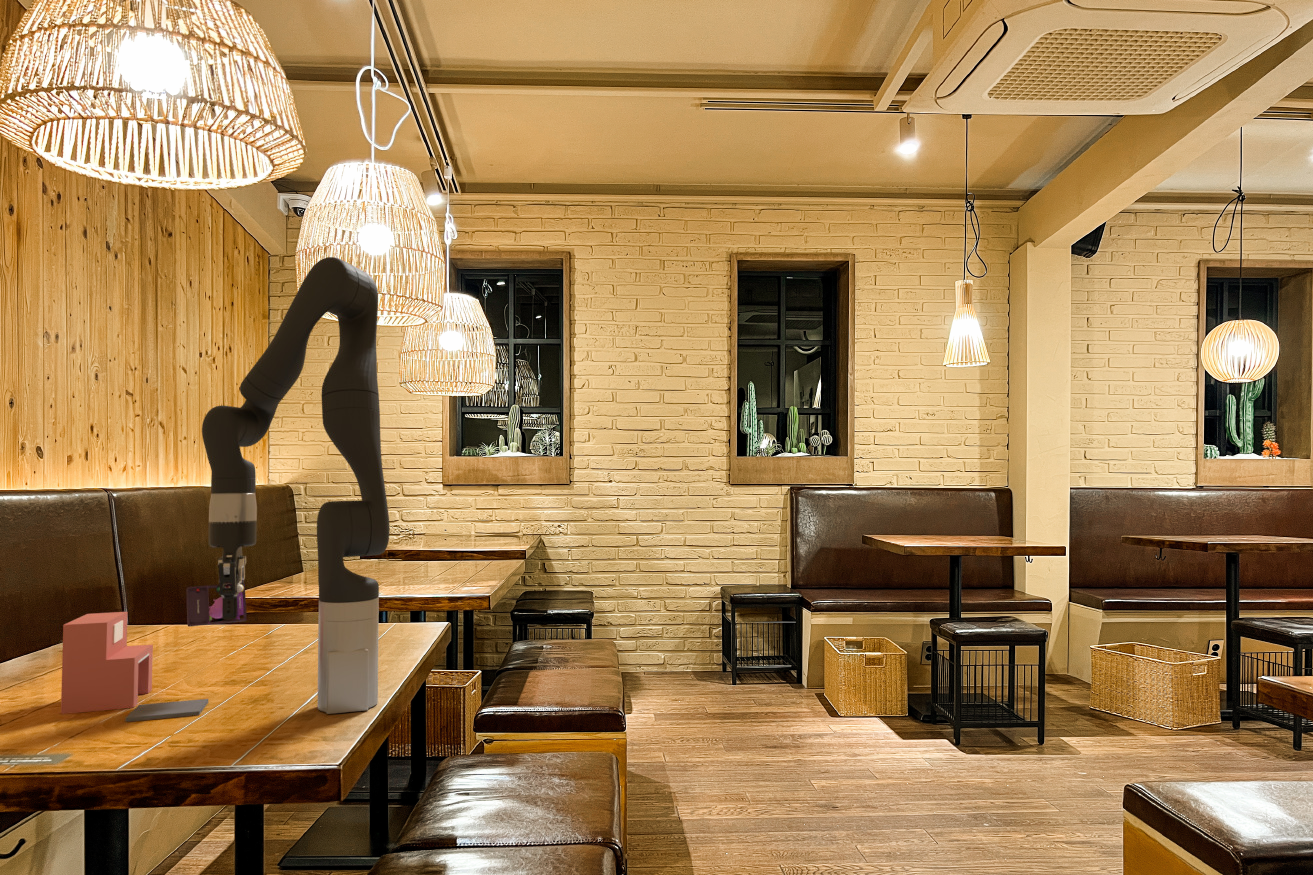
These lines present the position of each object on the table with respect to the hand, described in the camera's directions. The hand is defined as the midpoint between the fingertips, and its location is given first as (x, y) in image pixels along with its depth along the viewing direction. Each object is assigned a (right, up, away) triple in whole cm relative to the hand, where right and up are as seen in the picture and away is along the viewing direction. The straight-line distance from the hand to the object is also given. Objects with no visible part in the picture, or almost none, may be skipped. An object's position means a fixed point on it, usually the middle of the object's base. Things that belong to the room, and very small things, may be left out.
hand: (231, 617), depth 144 cm
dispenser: (-17, -13, -6) cm, 22 cm away
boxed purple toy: (-2, -1, -1) cm, 3 cm away
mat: (-3, -12, -13) cm, 18 cm away
